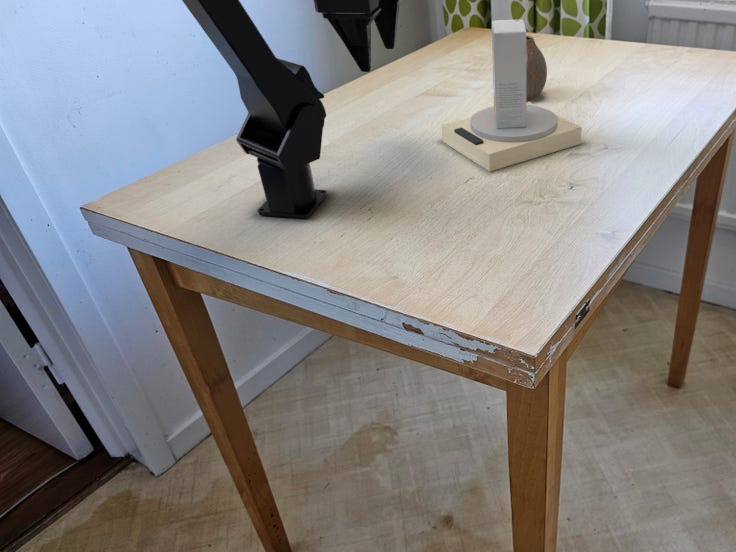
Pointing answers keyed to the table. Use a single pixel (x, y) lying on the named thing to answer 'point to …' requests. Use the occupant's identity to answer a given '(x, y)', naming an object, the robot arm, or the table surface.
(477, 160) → the scale
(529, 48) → the vase
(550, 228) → the table surface
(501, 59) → the cosmetic box
